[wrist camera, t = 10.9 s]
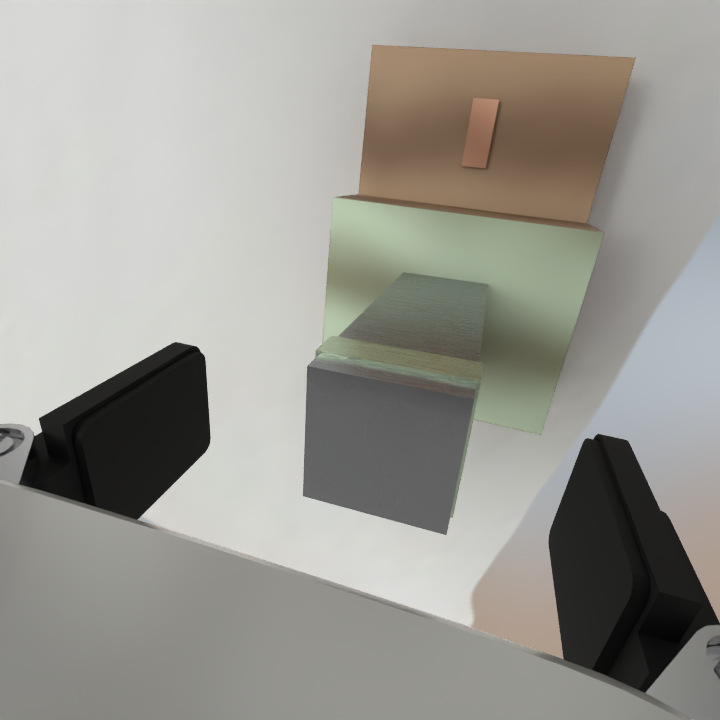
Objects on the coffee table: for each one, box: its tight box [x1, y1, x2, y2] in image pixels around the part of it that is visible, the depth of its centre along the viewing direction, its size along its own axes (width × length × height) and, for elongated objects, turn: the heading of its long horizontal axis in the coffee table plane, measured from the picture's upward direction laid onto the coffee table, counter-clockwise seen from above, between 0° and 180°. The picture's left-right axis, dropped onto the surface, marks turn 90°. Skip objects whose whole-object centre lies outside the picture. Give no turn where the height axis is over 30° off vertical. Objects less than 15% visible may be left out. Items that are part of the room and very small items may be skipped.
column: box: [303, 272, 488, 535], centre depth 16 cm, size 4×4×12 cm
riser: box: [322, 45, 636, 435], centre depth 24 cm, size 17×12×8 cm
